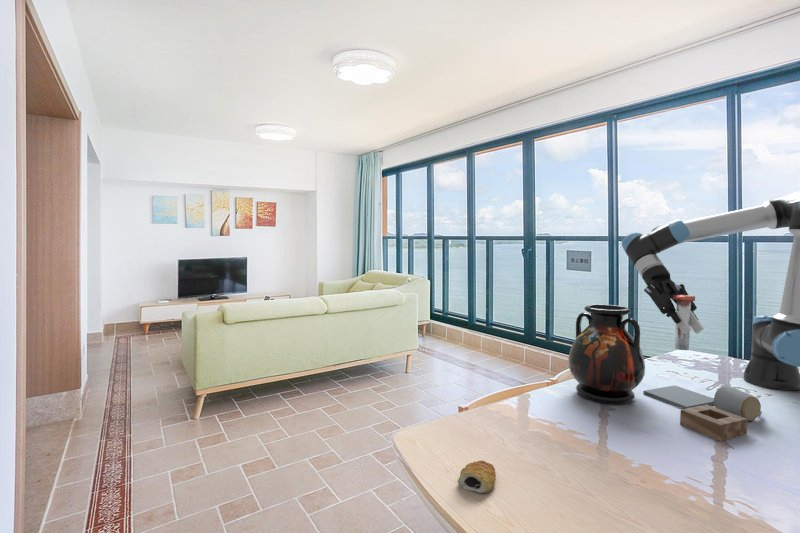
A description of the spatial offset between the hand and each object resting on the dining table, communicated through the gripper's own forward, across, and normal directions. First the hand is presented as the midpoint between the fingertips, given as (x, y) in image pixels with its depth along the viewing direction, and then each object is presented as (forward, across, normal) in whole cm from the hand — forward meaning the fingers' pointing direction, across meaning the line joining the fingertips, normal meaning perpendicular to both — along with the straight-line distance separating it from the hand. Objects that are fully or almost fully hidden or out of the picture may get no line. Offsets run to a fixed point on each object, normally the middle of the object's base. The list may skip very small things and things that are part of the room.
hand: (693, 331), depth 126 cm
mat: (+13, 0, -18) cm, 22 cm away
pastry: (+35, +78, +4) cm, 85 cm away
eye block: (+27, +10, -4) cm, 29 cm away
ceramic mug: (+23, -6, -8) cm, 25 cm away
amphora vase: (+8, +21, -23) cm, 32 cm away
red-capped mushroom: (+2, 0, -7) cm, 7 cm away
